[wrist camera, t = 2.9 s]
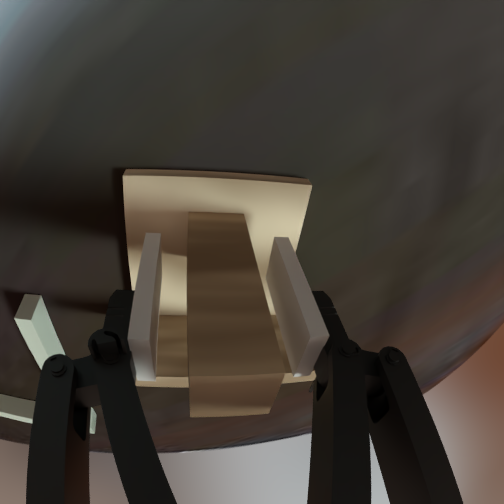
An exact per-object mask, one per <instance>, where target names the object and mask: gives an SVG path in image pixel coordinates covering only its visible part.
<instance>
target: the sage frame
mask: <svg viewBox="0 0 504 504" xmlns="http://www.w3.org/2000/svg"><path fill="white" fill-rule="evenodd" d="M14 319H15V321H16V323H17V325H18V327H19V329H20V331H21V333H22V335H23V337H24V339H25V341H26V343H27V345H28V347H29V349H30V351H31V352H32V354H33V356H34V358H35V360H36V361H37V363H38V365H39V367H40V368H41V370H42V366H43V364H44V362H45V360H46V359H47V358H48V357H50V356H52V355H54V354H63V355H65V353H64V351H63V349H62V346H61V344H60V342H59V339H58V337H57V335H56V332H55V330H54V327H53V325H52V323H51V320H50V317H49V315H48V312H47V310H46V307H45V304H44V302H43V299H42V296H41V295H31V294H25V295H24V297H23V299H22V302H21V304H20V306H19V308H18V311H17V313H16V315H15V318H14ZM35 402H36V401H31V400H26V399H21V398H16V397H12V396H7V395H3V394H0V416H3V417H7V418H11V419H15V420H19V421H23V422H28V423H32V421H33V414H34V408H35ZM95 424H96V413H95V412H94V410H93V408H92V407H91V419H90V433H94V434H95Z"/></svg>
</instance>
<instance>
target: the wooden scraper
mask: <svg viewBox="0 0 504 504" xmlns="http://www.w3.org/2000/svg"><path fill="white" fill-rule="evenodd" d="M311 189H312V184H311V183H310V182H309V180H308V179H304V178H294V177H283V176H272V175H259V174H246V173H231V172H213V171H191V170H158V169H126V170H125V172H124V174H123V193H124V211H125V225H126V238H127V249H128V259H129V268H130V276H131V285H132V290H135V286H136V281H137V275H138V270H139V264H140V259H141V254H142V249H143V244H144V239H145V235H146V233H161V256H162V284H161V296H160V309H159V323H158V340H157V362H156V381H137V377H136V384H135V385H136V386H150V387H189V402H190V417H221V416H241V415H256V414H268V413H269V412H270V409H271V407H272V405H273V402H274V400H275V398H276V395H277V393H278V390H279V388H280V386H281V383H292V382H302V381H311V380H314V379H315V378H316V373H315V370H314V368H313V370H312V372H311V374H310V376H300V377H293V374H292V370H291V367H290V363H289V360H288V356H287V352H286V349H285V345H284V342H283V338H282V335H281V331H280V327H279V324H278V320H277V317H276V313H275V310H274V306H273V302H272V299H271V295H270V292H269V288H268V285H267V281H266V273H267V269H268V264H269V259H270V255H271V250H272V245H273V240H274V237H289V240H290V242H291V244H292V247H293V249H294V251H295V252H296V248H297V244H298V240H299V236H300V233H301V229H302V225H303V221H304V217H305V213H306V209H307V205H308V201H309V197H310V193H311Z"/></svg>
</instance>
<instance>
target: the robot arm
mask: <svg viewBox="0 0 504 504" xmlns="http://www.w3.org/2000/svg"><path fill="white" fill-rule="evenodd" d="M266 281H267V285H268V288H269V292H270V295H271V299H272V302H273V306H274V310H275V313H276V317H277V320H278V324H279V327H280V331H281V335H282V338H283V342H284V345H285V349H286V352H287V356H288V360H289V363H290V367H291V370H292V374H293V377H300V376H310V374H311V372H312V370H313V368H314V370H315V373H316V378H315V379H314V381H313V383H312V385H311V387H310V389H309V392H312V390H313V418H312V440H311V458H310V473H309V487H308V500H307V504H371V461H370V438H369V433H370V436H371V440H372V443H373V446H374V449H375V453H376V456H377V459H378V463H379V466H380V470H381V473H382V476H383V480H384V483H385V487H386V491H387V494H388V498H389V501H390V504H463V501H462V498H461V495H460V492H459V489H458V486H457V483H456V480H455V477H454V474H453V471H452V468H451V466H450V463H449V460H448V458H447V455H446V452H445V449H444V447H443V444H442V442H441V439H440V436H439V434H438V431H437V429H436V426H435V424H434V421H433V419H432V416H431V414H430V411H429V409H428V407H427V404H426V402H425V400H424V397H423V395H422V393H421V390H420V388H419V386H418V384H417V381H416V379H415V377H414V375H413V372H412V370H411V368H410V366H409V364H408V362H407V359H406V357H405V356H404V354H403V353H402V352H401V351H400V350H399V349H397V348H394V347H389V346H387V347H384V348H383V349H382V350H381V351H380V352H379V353H375V352H369V351H365V350H361V348H360V347H359V345H358V344H357V343H355V342H354V341H352V340H349V338H348V336H347V334H346V332H345V329H344V327H343V325H342V323H341V321H340V318H339V316H338V315H337V312H336V309H335V308H334V305H333V303H332V301H331V299H330V297H329V296H328V295H327V294H326V293H325V292H324V291H311V289H310V287H309V284H308V282H307V280H306V277H305V275H304V272H303V270H302V268H301V265H300V263H299V261H298V258H297V256H296V254H295V251H294V249H293V247H292V244H291V242H290V240H289V237H274V240H273V245H272V250H271V255H270V259H269V264H268V269H267V273H266ZM161 284H162V256H161V233H146V235H145V239H144V244H143V249H142V254H141V259H140V264H139V270H138V275H137V281H136V286H135V290H116V291H115V292H114V293H113V295H112V296H111V297H110V300H109V304H108V309H107V313H106V317H105V322H104V327H103V329H100V330H97V331H96V332H94V333H93V334H92V335H91V337H90V338H89V340H88V347H89V350H90V353H91V355H89V356H87V357H84V358H80V359H75V360H71V358H69V357H68V356H67V355H63V354H54V355H52V356H50V357H48V358H47V359H46V360H45V362H44V364H43V366H42V370H41V375H40V380H39V385H38V390H37V396H36V402H35V408H34V414H33V421H32V428H31V436H30V445H29V456H28V469H27V489H26V504H90V497H89V441H90V419H91V407H93V406H97V405H101V406H102V410H103V415H104V419H105V424H106V428H107V432H108V436H109V440H110V444H111V447H112V451H113V455H114V458H115V462H116V465H117V468H118V471H119V474H120V477H121V481H122V484H123V487H124V490H125V493H126V496H127V498H128V502H129V504H177V503H176V500H175V498H174V495H173V493H172V491H171V488H170V486H169V483H168V481H167V478H166V476H165V473H164V470H163V468H162V465H161V463H160V460H159V457H158V454H157V452H156V449H155V446H154V443H153V440H152V437H151V434H150V431H149V428H148V425H147V422H146V419H145V416H144V413H143V409H142V406H141V403H140V399H139V396H138V392H137V389H136V385H135V384H136V377H137V381H156V362H157V340H158V323H159V309H160V296H161Z"/></svg>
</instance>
